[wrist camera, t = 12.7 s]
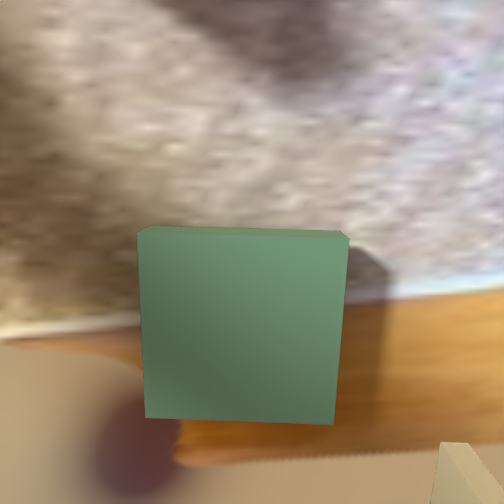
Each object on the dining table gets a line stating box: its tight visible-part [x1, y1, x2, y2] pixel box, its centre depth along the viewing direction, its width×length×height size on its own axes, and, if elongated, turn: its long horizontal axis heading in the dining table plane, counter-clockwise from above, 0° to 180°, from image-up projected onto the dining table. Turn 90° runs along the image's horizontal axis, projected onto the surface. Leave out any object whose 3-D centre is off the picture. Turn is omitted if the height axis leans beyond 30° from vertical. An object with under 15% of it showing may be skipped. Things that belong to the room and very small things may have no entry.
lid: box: [137, 226, 350, 425], centre depth 22 cm, size 11×11×4 cm
